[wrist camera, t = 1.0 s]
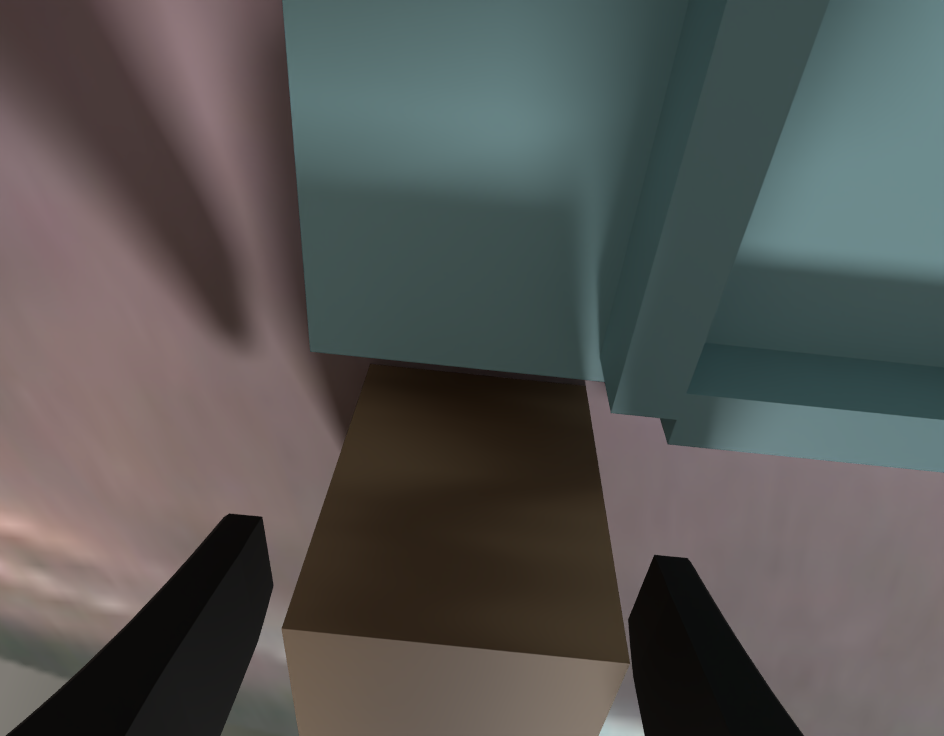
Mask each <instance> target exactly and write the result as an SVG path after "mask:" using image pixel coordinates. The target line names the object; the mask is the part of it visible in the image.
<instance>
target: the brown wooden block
mask: <svg viewBox="0 0 944 736" xmlns="http://www.w3.org/2000/svg"><path fill="white" fill-rule="evenodd" d="M282 634H283V640H284V646H285V652H286V658H287V664H288V670H289V677H290V683H291V689H292V695H293V701H294V707H295V713H296V719H297V725H298V731H299V736H598V735H599V733H600V731H601V729H602V726H603V724H604V722H605V720H606V717H607V715H608V713H609V710H610V708H611V706H612V704H613V701H614V699H615V697H616V694H617V692H618V690H619V688H620V685H621V683H622V681H623V679H624V676H625V674H626V672H627V669H628V667H629V665H630V661H629V655H628V648H627V642H626V636H625V630H624V623H623V617H622V611H621V605H620V598H619V592H618V586H617V579H616V573H615V567H614V561H613V554H612V548H611V542H610V535H609V529H608V523H607V517H606V510H605V504H604V498H603V491H602V485H601V479H600V473H599V466H598V460H597V454H596V447H595V441H594V435H593V429H592V422H591V416H590V410H589V403H588V397H587V391H586V386H581V385H572V384H562V383H552V382H542V381H533V380H523V379H513V378H503V377H494V376H484V375H474V374H464V373H454V372H445V371H435V370H425V369H415V368H406V367H396V366H386V365H376V364H370V366H369V369H368V372H367V375H366V378H365V381H364V384H363V387H362V390H361V393H360V396H359V399H358V402H357V405H356V408H355V411H354V414H353V417H352V420H351V423H350V426H349V429H348V432H347V435H346V438H345V441H344V444H343V447H342V450H341V453H340V456H339V459H338V462H337V465H336V468H335V471H334V474H333V477H332V480H331V483H330V486H329V489H328V492H327V495H326V498H325V501H324V504H323V507H322V510H321V513H320V516H319V519H318V522H317V525H316V528H315V531H314V534H313V537H312V540H311V543H310V546H309V548H308V551H307V554H306V557H305V560H304V563H303V566H302V569H301V572H300V575H299V578H298V581H297V584H296V587H295V590H294V593H293V596H292V599H291V602H290V605H289V608H288V611H287V614H286V617H285V620H284V623H283V626H282Z"/></svg>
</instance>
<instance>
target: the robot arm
mask: <svg viewBox="0 0 944 736" xmlns="http://www.w3.org/2000/svg"><path fill="white" fill-rule="evenodd" d="M273 586H274V585H273V579H272V573H271V567H270V561H269V555H268V549H267V543H266V537H265V531H264V525H263V519H262V517H259V516H249V515H238V514H228V515H226V516H225V517H224V518H223V519H222V520H221V521H220V522H219V523H218V525H217V526H216V527H215V528H214V529H213V531H212V532H211V533H210V534H209V535H208V536H207V538H206V539H205V540H204V541H203V542H202V543H201V545H200V546H199V547H198V548H197V549H196V550H195V551H194V553H193V554H192V555H191V556H190V557H189V558H188V559H187V561H186V562H185V563H184V564H183V565H182V566H181V567H180V568H179V569H178V571H177V572H176V573H175V574H174V575H173V576H172V577H171V578H170V579H169V581H168V582H167V583H166V584H165V585H164V586H163V587H162V588H161V589H160V590H159V591H158V592H157V593H156V594H155V595H154V597H153V598H152V599H151V600H150V601H149V602H148V603H147V604H146V605H145V606H144V607H143V608H142V609H141V610H140V611H139V612H138V613H137V615H136V616H135V617H134V618H133V619H132V620H131V621H130V622H129V623H128V624H127V625H126V626H125V627H124V628H123V629H122V630H121V631H120V632H119V633H118V634H117V635H116V636H115V637H114V638H113V639H112V640H111V641H110V642H109V643H108V644H106V645H105V646H104V647H103V648H102V649H101V650H100V651H99V652H98V653H97V654H96V655H95V656H94V657H93V658H92V659H91V660H90V661H89V662H88V663H87V664H86V665H85V666H84V667H83V668H82V669H81V670H80V671H79V672H78V673H76V674H75V675H74V676H73V677H72V678H71V679H70V680H69V681H68V682H67V683H66V684H65V685H63V686H62V687H61V688H60V689H59V690H58V691H57V692H56V693H55V694H53V695H52V696H51V697H50V698H49V699H48V700H47V701H46V702H44V703H43V704H42V705H41V706H40V707H39V708H38V709H36V710H35V711H34V712H33V713H32V714H31V715H29V716H28V717H27V718H26V719H25V720H24V721H23V722H22V723H20V724H19V725H18V726H17V727H16V728H14V729H13V730H12V731H11V732H10V733H8V734H7V735H6V736H220V735H221V732H222V730H223V728H224V725H225V723H226V720H227V718H228V715H229V713H230V710H231V708H232V705H233V703H234V700H235V698H236V695H237V693H238V691H239V688H240V686H241V683H242V681H243V678H244V675H245V673H246V670H247V668H248V665H249V663H250V660H251V658H252V655H253V653H254V650H255V648H256V645H257V642H258V639H259V636H260V633H261V629H262V626H263V622H264V619H265V615H266V612H267V608H268V604H269V600H270V597H271V593H272V589H273ZM628 623H629V636H630V649H631V659H632V669H633V678H634V683H635V689H636V694H637V699H638V704H639V709H640V714H641V719H642V724H643V729H644V734H645V736H804V735H803V734H802V732H801V731H800V730H799V728H798V727H797V726H796V724H795V723H794V721H793V720H792V719H791V717H790V716H789V715H788V713H787V712H786V710H785V709H784V708H783V706H782V705H781V703H780V702H779V700H778V699H777V698H776V696H775V695H774V693H773V692H772V690H771V689H770V687H769V686H768V684H767V683H766V681H765V680H764V678H763V677H762V675H761V674H760V672H759V671H758V669H757V668H756V666H755V665H754V663H753V662H752V660H751V659H750V657H749V656H748V654H747V653H746V651H745V650H744V648H743V647H742V645H741V644H740V642H739V641H738V639H737V637H736V636H735V634H734V633H733V631H732V629H731V628H730V626H729V625H728V623H727V621H726V620H725V618H724V617H723V615H722V613H721V612H720V610H719V608H718V607H717V605H716V604H715V602H714V600H713V599H712V597H711V595H710V594H709V592H708V590H707V589H706V587H705V585H704V583H703V582H702V580H701V578H700V577H699V575H698V573H697V572H696V570H695V568H694V567H693V565H692V563H691V562H690V561H689V560H688V558H681V557H670V556H660V555H654V557H653V559H652V562H651V564H650V567H649V569H648V572H647V574H646V577H645V579H644V582H643V584H642V587H641V589H640V592H639V594H638V597H637V599H636V602H635V604H634V607H633V609H632V611H631V614H630V616H629V619H628Z"/></svg>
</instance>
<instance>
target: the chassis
mask: <svg viewBox="0 0 944 736" xmlns="http://www.w3.org/2000/svg"><path fill="white" fill-rule="evenodd" d="M282 3H283V16H284V28H285V41H286V53H287V66H288V78H289V91H290V104H291V116H292V129H293V141H294V154H295V166H296V179H297V191H298V204H299V217H300V229H301V242H302V254H303V267H304V279H305V292H306V305H307V317H308V330H309V342H310V352H319V353H328V354H338V355H348V356H358V357H367V358H377V359H387V360H397V361H406V362H416V363H426V364H435V365H445V366H455V367H465V368H474V369H484V370H494V371H504V372H513V373H523V374H533V375H543V376H552V377H562V378H572V379H582V380H591V381H601V382H605V386H606V391H607V396H608V401H609V406H610V411H611V413H616V414H625V415H635V416H645V417H655V418H660V420H661V423H662V427H663V430H664V433H665V437H666V440H667V443H668V444H670V445H680V446H690V447H699V448H709V449H719V450H729V451H739V452H748V453H758V454H768V455H778V456H788V457H797V458H807V459H817V460H827V461H836V462H846V463H856V464H866V465H876V466H885V467H895V468H905V469H915V470H924V471H934V472H944V0H282Z"/></svg>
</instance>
